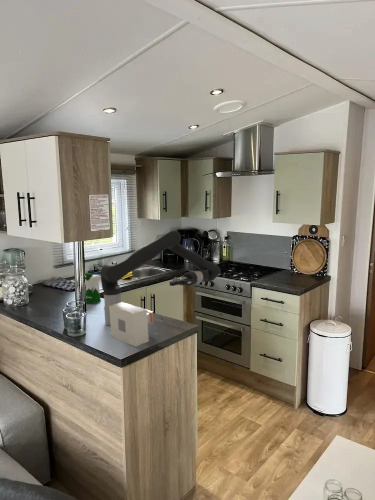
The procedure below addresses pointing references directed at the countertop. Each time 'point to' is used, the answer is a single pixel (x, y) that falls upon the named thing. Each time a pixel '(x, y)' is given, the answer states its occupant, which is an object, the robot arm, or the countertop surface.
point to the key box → (129, 323)
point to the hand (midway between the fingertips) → (170, 284)
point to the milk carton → (92, 288)
